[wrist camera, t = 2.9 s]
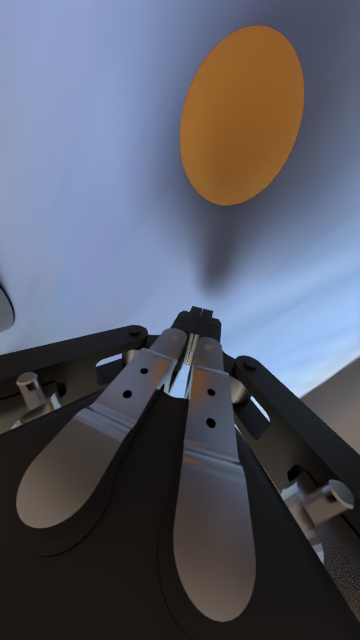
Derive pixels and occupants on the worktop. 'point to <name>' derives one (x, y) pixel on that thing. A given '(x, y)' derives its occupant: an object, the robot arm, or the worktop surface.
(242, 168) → the ball
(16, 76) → the worktop surface
